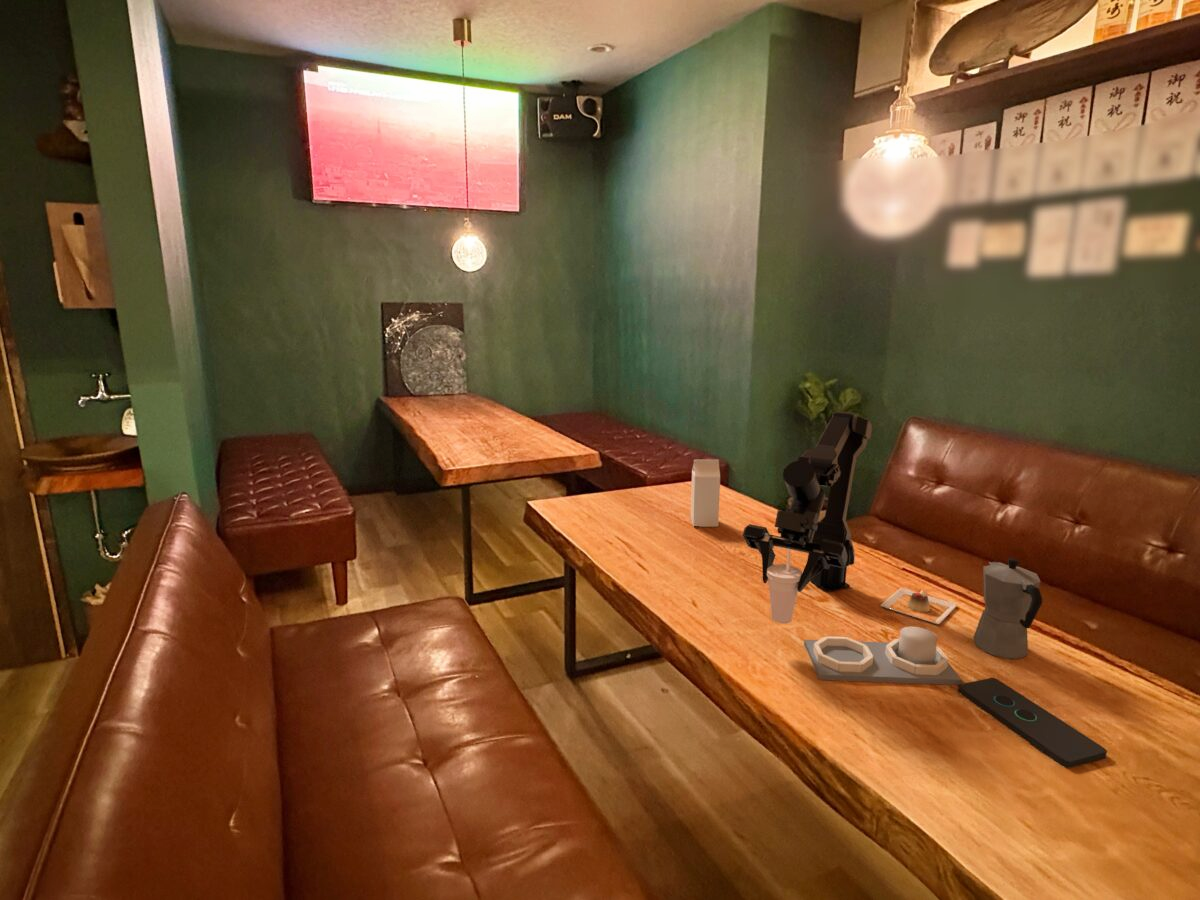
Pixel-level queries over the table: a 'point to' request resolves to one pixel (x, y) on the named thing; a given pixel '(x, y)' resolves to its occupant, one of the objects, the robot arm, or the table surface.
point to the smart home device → (1033, 723)
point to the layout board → (883, 659)
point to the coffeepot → (1007, 609)
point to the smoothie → (783, 590)
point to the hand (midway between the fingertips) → (781, 586)
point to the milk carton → (705, 493)
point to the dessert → (919, 603)
